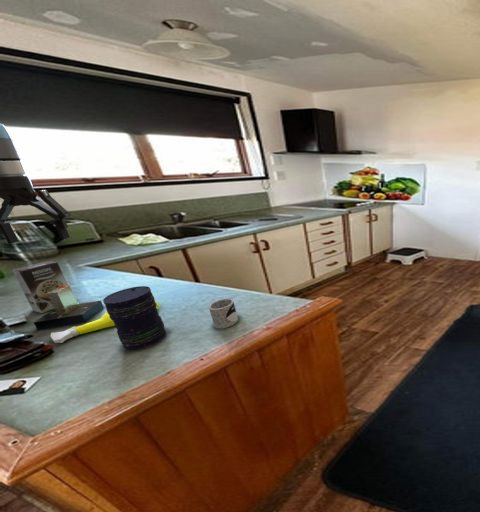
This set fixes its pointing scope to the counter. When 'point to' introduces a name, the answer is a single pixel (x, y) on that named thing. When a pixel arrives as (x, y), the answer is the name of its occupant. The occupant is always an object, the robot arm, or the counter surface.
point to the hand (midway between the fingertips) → (40, 240)
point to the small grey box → (63, 299)
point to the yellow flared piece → (85, 328)
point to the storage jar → (135, 317)
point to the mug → (223, 313)
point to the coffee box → (40, 283)
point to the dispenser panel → (69, 316)
